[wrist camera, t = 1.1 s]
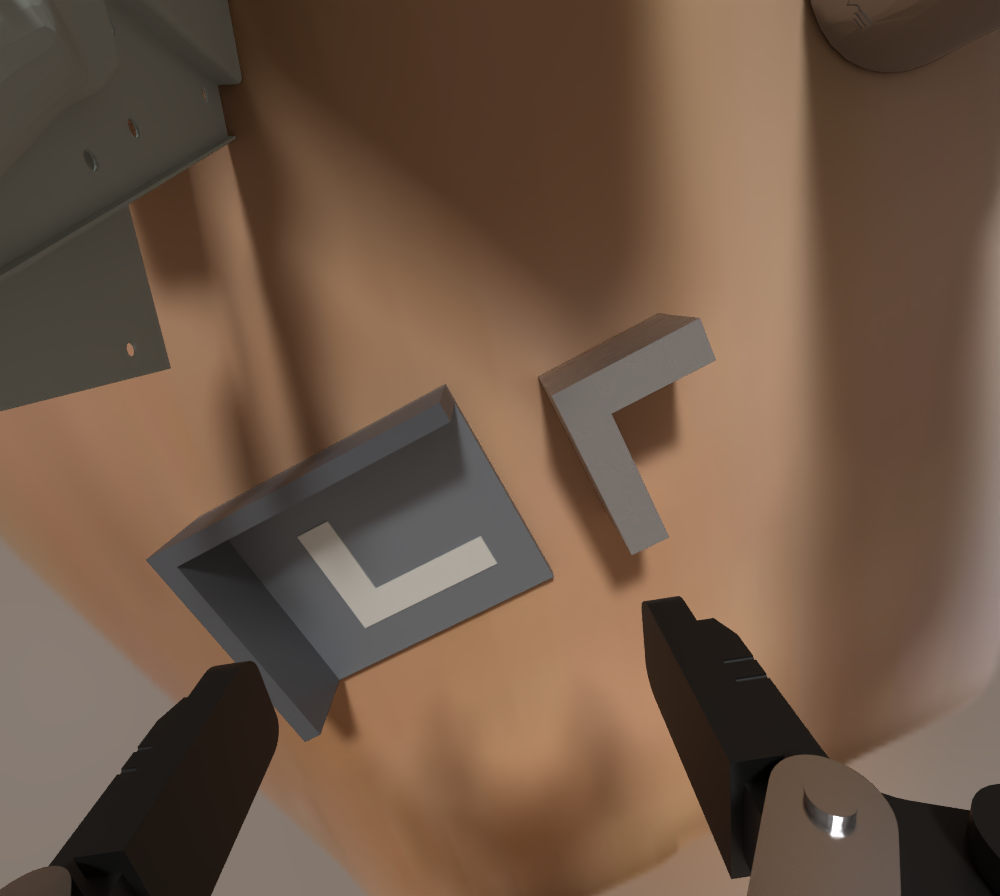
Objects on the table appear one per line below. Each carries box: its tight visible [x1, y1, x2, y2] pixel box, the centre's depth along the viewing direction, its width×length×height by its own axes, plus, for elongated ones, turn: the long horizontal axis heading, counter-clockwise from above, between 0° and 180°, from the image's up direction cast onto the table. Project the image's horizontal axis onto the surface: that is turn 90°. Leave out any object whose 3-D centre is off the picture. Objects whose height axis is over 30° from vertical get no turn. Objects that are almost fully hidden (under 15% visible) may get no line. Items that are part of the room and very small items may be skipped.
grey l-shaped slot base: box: [146, 384, 554, 742], centre depth 27 cm, size 16×13×5 cm
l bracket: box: [538, 313, 716, 555], centre depth 25 cm, size 9×7×5 cm
